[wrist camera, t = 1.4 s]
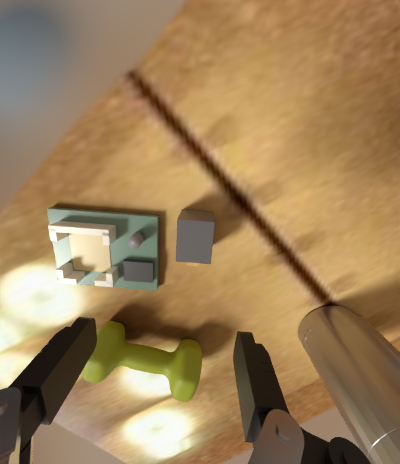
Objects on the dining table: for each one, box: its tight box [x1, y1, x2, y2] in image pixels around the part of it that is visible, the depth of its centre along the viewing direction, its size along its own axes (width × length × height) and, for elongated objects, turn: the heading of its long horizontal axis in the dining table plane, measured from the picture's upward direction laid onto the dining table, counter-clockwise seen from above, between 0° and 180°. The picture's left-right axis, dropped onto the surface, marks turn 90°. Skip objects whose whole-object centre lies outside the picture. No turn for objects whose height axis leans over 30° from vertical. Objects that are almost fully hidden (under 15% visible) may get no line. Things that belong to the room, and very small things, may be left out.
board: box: [47, 207, 159, 291], centre depth 26 cm, size 14×11×3 cm
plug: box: [176, 210, 215, 266], centre depth 24 cm, size 4×6×5 cm
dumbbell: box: [83, 321, 202, 402], centre depth 29 cm, size 16×8×7 cm, turn 73°
